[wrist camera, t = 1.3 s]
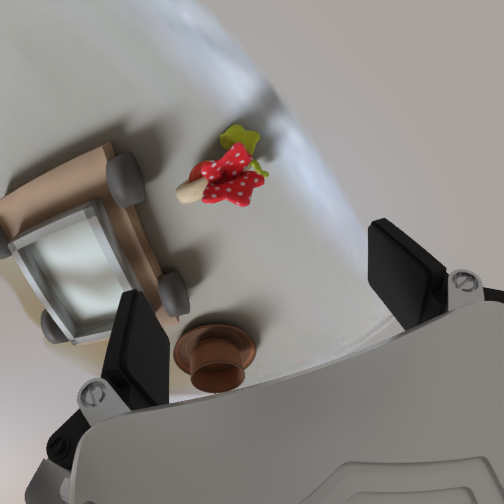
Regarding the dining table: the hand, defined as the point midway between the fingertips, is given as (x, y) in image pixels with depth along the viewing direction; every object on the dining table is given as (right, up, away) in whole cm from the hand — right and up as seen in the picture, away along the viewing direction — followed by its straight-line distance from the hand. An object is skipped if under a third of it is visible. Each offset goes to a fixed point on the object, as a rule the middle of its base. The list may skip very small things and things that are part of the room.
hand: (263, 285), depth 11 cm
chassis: (-20, +1, +19) cm, 28 cm away
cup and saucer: (-6, -13, +30) cm, 33 cm away
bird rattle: (-4, +10, +18) cm, 21 cm away
